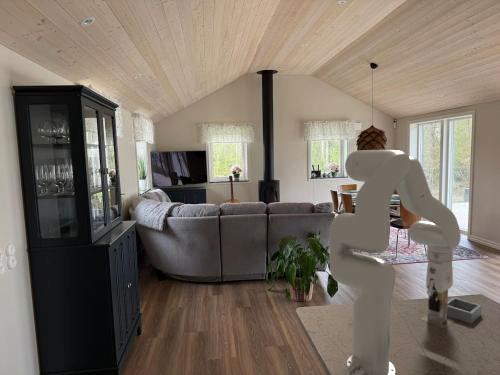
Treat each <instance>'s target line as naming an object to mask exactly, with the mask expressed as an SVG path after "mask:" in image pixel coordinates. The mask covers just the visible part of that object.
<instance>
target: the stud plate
mask: <svg viewBox="0 0 500 375" xmlns="http://www.w3.org/2000/svg"><path fill="white" fill-rule="evenodd" d="M419 320H420V321H423V322H426V323H429V324H432V325H434V326H437V327H440V328H443V329H446V328H447V327H449V326H450V325H451V324H452V323H453V322H455V320H456V319H453V318H449V317H447V320H446V321H445V322H444V323H442V324H439V323H436V322H433V321H430V320H428V313H427V314H425V315H424V316H423V317H422V318H421V317H420V319H419Z"/></svg>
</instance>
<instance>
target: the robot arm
mask: <svg viewBox="0 0 500 375" xmlns="http://www.w3.org/2000/svg"><path fill="white" fill-rule="evenodd" d="M344 168H345V172H346V174H347V176H348V177H349V178H350V179H351V180H353V181H355V182H362V183H363V184H362V185H361V187H360V188H359V190H358V191H357V193H356V196H355V200H354V201H355V204H354V205H355V206H354V207H355V208H354V213H350V212H343V213H339V214H338V215H336V216H335V217H334V218H333V220H332V222H331V224H330V227H329V232H328V234H329V236H328V240H329V241H328V245H329V246H328V248H329V249H328V251H329V254H328V256H329V271H330V275H331V278H332V279H333V280H335V282H337V283H338V284H342V285H345V286H348V287H350V288H353V289H355V290H357V291H359V292H360V295H359V296H358V298H357V299H356V300H355V301H354V303H353V306H352V355H351V356H349V357H348V359H346V360H347V361H346V366H345V367H344V368H343V374H344V375H396V368H395V366H394V364H393V363H392V362H391V361H390V348H391V311H392V309H391V307H392V299H393V298H392V297H393V292H394V288H395V284H396V277H397V276H396V270H395V268H394V266H393V265H392V264H391V263H390V262H388V261H386V260H385V259H382V258H379V257H376V256H371V255H368V254H373V255H375V254H376V255H378V254H383V253H384V252H386V250H387V249H388V247H389V245H390V224H391V223H390V222H391V219H390V218H391V217H390V215H391V212H390V211H391V210H390V209H391V200H392V197H393V194H394V193H395V191H396V193H397V195H398V198H399V200H400V202H401V205H402V206H403V208H404V209H405V210H406V211H408V212H409V213H412V214H413V215H414V216H417V217H419V218H422V219H425V220H417V221H414V222H413V223H412V224H411V225H410V226H409V229H408V235H409V238H410V240H411V241H412V242H414V243H416V244H419V245H423V246H426V259H427V269H426V282H425V285H426V286H425V287H426V290H427V291H426V294H427V295H429V309H430V310H433V311H436V312H439V311H440V300H439V294H440V293H443V292H444V291H446V290H448V291H449V289H450V288H452V287H453V285H454V284H453V282H454V280H453V279H454V277H453V272H454V271H453V256H454V249H457V247H459V244H460V242H461V236H462V235H461V230H460V226H459V224H458V223H459V222H458V220H457V217H456V215H455V214H454V212H453V211H452V210H451V209H450V208H448V207H447V206H446V205H445V204H444V203H443V202H441V201H440V200H439V199H437V198H436V197H434V196H433V194H432V192H431V190H430V186H429V183H428V181H427V177H426V176H425V175H426V174H425V173H424V172H425V171H424V169H423V167H422V164H421V162H420V161H419V160H418V159H417V158H415V157H413V156H409V154H408V153H406V152H405V151H402V150H396V149H373V150H372V149H370V150H369V149H367V150H366V149H365V150H363V149H362V150H355V151H352V152H351V153H349V155H348V156H347V158H346V160H345V164H344ZM355 250H356V251H360V252H364V253H368V254H363V253H359V252H356V251H355ZM434 288H435V289H436V290H434ZM433 292H436V295H435V294H434V293H433Z"/></svg>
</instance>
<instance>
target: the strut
mask: <svg viewBox="0 0 500 375" xmlns="http://www.w3.org/2000/svg"><path fill="white" fill-rule="evenodd" d="M434 290H436V289H435V288H434ZM433 293H434V294H435V295H436V292H433ZM427 295H428V294H427ZM427 297H428V298H427V299H428V300H427V301H428V302H427V314H428V320H430V321H433V322H436V323H439V324H442V323H444V322H445V321H446V320H447V318H448V316H447V304H448V301H449V300H448V299H449V298H448V297H449V289H448V290H446V291H444V292H443V293H440V294H439V300H440V311H439V312H436V311H433V310H430V309H429V295H428V296H427Z"/></svg>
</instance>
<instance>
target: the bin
mask: <svg viewBox="0 0 500 375" xmlns="http://www.w3.org/2000/svg"><path fill="white" fill-rule="evenodd" d="M481 315H482V305H481V304H478V303H474V302H470V301H469V300H463V299H461V298H457V297H455V296H454V297H452V298H450V299H449V300H448V304H447V317H448V318H449V317H450V318H451V319H454V320H459V321H462V322H464V323H467V324H471V325H472V324H473V323H474V322H476V320H477V319H478V318H479V317H481Z"/></svg>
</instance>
